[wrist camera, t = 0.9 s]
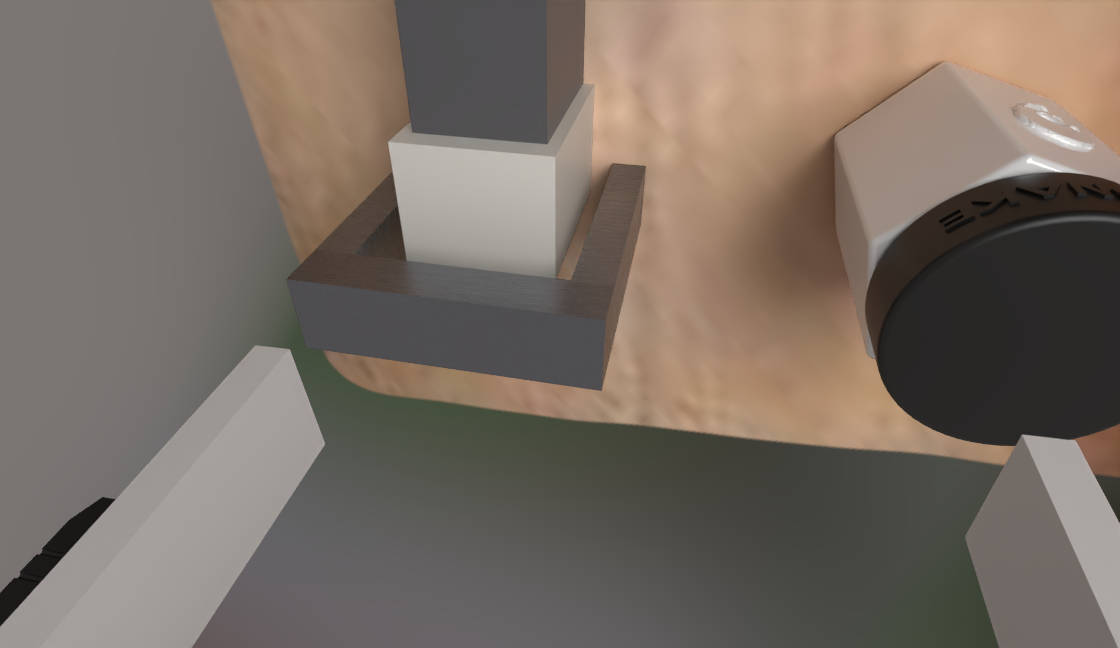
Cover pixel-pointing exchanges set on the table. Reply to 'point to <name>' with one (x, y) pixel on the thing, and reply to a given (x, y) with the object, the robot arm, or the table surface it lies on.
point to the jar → (984, 258)
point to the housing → (470, 297)
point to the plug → (493, 133)
